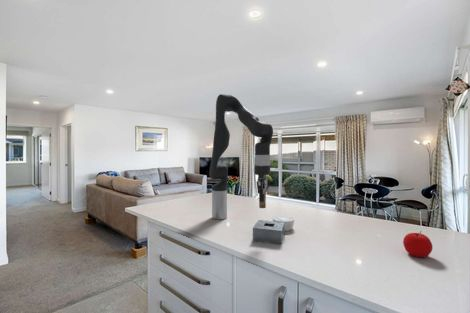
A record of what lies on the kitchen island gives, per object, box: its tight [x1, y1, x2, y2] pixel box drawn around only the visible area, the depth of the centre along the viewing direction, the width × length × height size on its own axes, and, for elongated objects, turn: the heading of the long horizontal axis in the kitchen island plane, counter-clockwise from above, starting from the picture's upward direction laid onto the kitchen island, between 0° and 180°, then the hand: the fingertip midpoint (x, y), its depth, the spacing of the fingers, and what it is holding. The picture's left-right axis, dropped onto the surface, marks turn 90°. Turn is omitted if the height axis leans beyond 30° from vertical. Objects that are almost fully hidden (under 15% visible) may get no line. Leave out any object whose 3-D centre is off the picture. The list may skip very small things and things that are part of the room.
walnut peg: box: [258, 186, 267, 209], centre depth 110 cm, size 3×3×10 cm
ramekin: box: [272, 215, 295, 232], centre depth 124 cm, size 11×11×5 cm
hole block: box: [252, 219, 285, 245], centre depth 110 cm, size 13×13×6 cm
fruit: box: [402, 230, 433, 258], centre depth 91 cm, size 9×9×10 cm
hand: (262, 200), depth 110 cm, fingers closed on walnut peg, 3 cm apart
